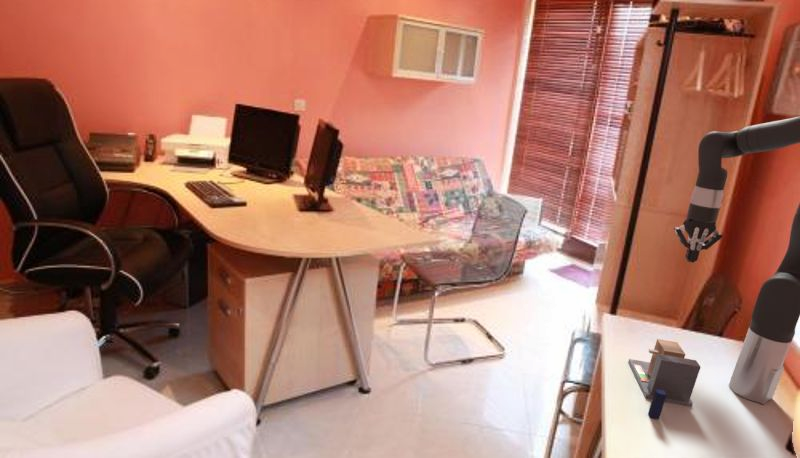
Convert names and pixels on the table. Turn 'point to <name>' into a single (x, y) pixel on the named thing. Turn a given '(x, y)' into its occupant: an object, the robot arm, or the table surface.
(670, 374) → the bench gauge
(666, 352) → the block
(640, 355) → the table surface
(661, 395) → the eraser
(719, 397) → the table surface
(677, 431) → the table surface
